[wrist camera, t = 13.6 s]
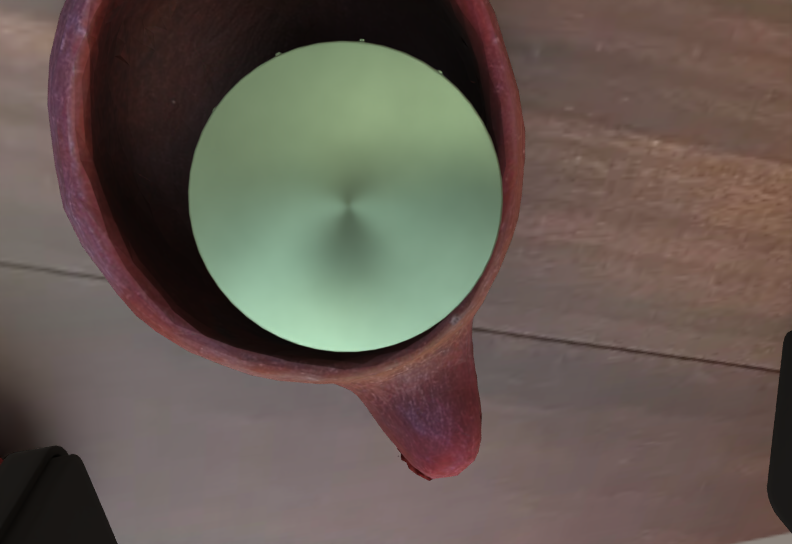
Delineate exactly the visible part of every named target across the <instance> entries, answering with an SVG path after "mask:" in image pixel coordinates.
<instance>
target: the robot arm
mask: <svg viewBox="0 0 792 544" xmlns="http://www.w3.org/2000/svg"><path fill="white" fill-rule="evenodd" d="M767 493H768V498H769V501H770V504H771V506H772V508H773V510H774V512H775V513H776V515H777V516H778V517H779V519H780V520H781V521H782V522H783V523H784V525H785V526H786V527H787V528H788V529H789V531H790V532H791V533H792V331H790V332H788V333H787V334H786V336H785V338H784V342H783V350H782V359H781V368H780V377H779V386H778V394H777V403H776V412H775V421H774V430H773V439H772V447H771V456H770V465H769V474H768V483H767ZM0 544H118V543H117V541H116V539H115V536H114V534H113V532H112V529H111V527H110V525H109V522H108V520H107V518H106V515H105V513H104V510H103V508H102V506H101V503H100V501H99V499H98V496H97V494H96V492H95V489H94V487H93V485H92V482H91V480H90V478H89V475H88V473H87V471H86V468H85V466H84V464H83V462H82V460H81V458H80V457H79V456H78V455H75V454H71V455H68V453H67V451H66V450H65V449H63V448H62V447H60V446H51V447H45V448H39V449H33V450H28V451H22V452H16V453H13V454H10V455H8V456H7V457H6V458H5V459H4V460H3V462H2V463H1V465H0Z"/></svg>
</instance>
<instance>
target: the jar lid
mask: <svg viewBox="0 0 792 544" xmlns="http://www.w3.org/2000/svg"><path fill="white" fill-rule="evenodd" d="M364 41H365V40H364V39H359V41H342V40H340V41H329V42H319V43H314V44H310V45H306V46H302V47H297V48H295V49H292V50H290V51H287V52H285V53H280V52H278V53H276V54H275V55H276V56H275V57H273V58H272V59H270V60H268V61H266V62H264V63H263V64H261V65H259V66H257V67H256V68H255V69H253V70H252V71H251V72H250V73H248V74H247V75H246V76H244V77H243V78H242V79H240V80H239V81H238V82H237V83H236V84H235V85H234V86H233V87H232V88H231V89H230V90H229V92H228V93H227V94H226V95H225V96H224V97H223V98H222V100H221V101H220V103H219V104H218V105H217V107H214V109H213V110H212V111H213V112H212V114H211V116H210V117H209V119H208V121H207V123H206V125H205V126H204V128H203V130H202V132H201V135H200V138H199V140H198V143H197V146H196V148H195V151H194V155H193V160H192V164H191V168H190V175H189V187H188V202H189V216H190V221H191V227H192V232H193V236H194V239H195V242H196V245H197V248H198V251H199V254H200V256H201V258H202V260H203V262H204V264H205V266H206V268H207V271H208V272H209V274H210V275H211V277H212V278H213V280H214V281H215V283H216V285H217V286H218V288H219V289H220V290H221V291H222V292H223V294H224V295H225V296H226V297H227V298H228V300H229V301H230V302H231V303H232V304H233V305H234V306H235V307H236V308H237V309H238V310H239V311H241V312H242V313H243V314H244V315H245V316H246V317H247V318H249V319H250V320H252V321H253V322H254V323H256V324H257V325H259V326H260V327H261V328H263V329H265V330H267V331H268V332H270V333H272V334H274V335H276V336H278V337H280V338H282V339H285V340H287V341H290V342H292V343H295V344H298V345H301V346H305V347H309V348H313V349H317V350H325V351H333V352H360V351H369V350H376V349H380V348H384V347H388V346H392V345H395V344H398V343H401V342H403V341H406V340H409V339H411V338H413V337H415V336H417V335H419V334H421V333H423V332H425V331H426V330H428V329H430V328H431V327H433V326H434V325H436V324H437V323H438V322H440V321H441V320H443V319H444V318H445V317H446V316H448V315H449V314H450V313H451V312H452V311H453V310H454V309H455V308H457V307H458V306H459V305H460V303H461V302H462V301H463V300H464V299H465V298H466V297H467V295H468V294H469V293H470V292H471V291H472V289H473V288H474V286H475V285H476V283H477V282H478V280H479V279H480V277H481V276H482V274H483V272H484V270H485V268H486V266H487V264H488V262H489V260H490V258H491V256H492V253H493V250H494V247H495V244H496V241H497V238H498V233H499V229H500V224H501V218H502V206H503V190H502V177H501V172H500V166H499V161H498V157H497V154H496V151H495V148H494V145H493V142H492V139H491V137H490V135H489V133H488V131H487V129H486V126H485V124H484V122H483V120H482V119H481V117H480V116H479V114H478V113H477V111H476V110H475V108H474V107H473V105H472V104H471V102H470V101H469V100H468V99H467V98H466V97H465V96H464V94H463V93H462V92H461V91H460V90H459V89H458V88H457V87H456V86H455V85H454V84H453V83H452V82H451V81H450V80H448V79H447V78H446V77H445V76H444V75H443V74H442V73H443V72H441V71H440V70H436V69H434V68H433V67H431V66H430V65H428V64H427V63H425V62H424V61H422V60H420V59H417V58H415V57H413V56H411V55H409V54H407V53H405V52H402V51H399V50H396V49H393V48H390V47H387V46H384V45H379V44H374V43H368V42H364Z"/></svg>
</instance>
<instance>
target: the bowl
mask: <svg viewBox="0 0 792 544" xmlns="http://www.w3.org/2000/svg"><path fill="white" fill-rule="evenodd" d="M359 39H364V40H365V41H364V42H368V43H374V44H379V45H384V46H387V47H390V48H393V49H396V50H399V51H402V52H405V53H407V54H409V55H411V56H413V57H415V58H417V59H420V60H422V61H424V62H425V63H427V64H428V65H430V66H431V67H433V68H434V69H436V70H440V71H441V72H443V73H442V74H443V75H444V76H445V77H446V78H447V79H448V80H450V81H451V82H452V83H453V84H454V85H455V86H456V87H457V88H458V89H459V90H460V91H461V92H462V93H463V94H464V96H465V97H466V98H467V99H468V100H469V101H470V102H471V104H472V105H473V107H474V108H475V110H476V111H477V113H478V114H479V116H480V117H481V119H482V120H483V122H484V124H485V126H486V129H487V131H488V133H489V135H490V137H491V139H492V142H493V145H494V148H495V151H496V154H497V157H498V161H499V166H500V172H501V177H502V190H503V206H502V218H501V224H500V229H499V233H498V238H497V241H496V244H495V247H494V250H493V253H492V256H491V258H490V260H489V262H488V264H487V266H486V268H485V270H484V272H483V274H482V276H481V277H480V279H479V280H478V282H477V283H476V285H475V286H474V288H473V289H472V291H471V292H470V293H469V294H468V295H467V297H466V298H465V299H464V300H463V301H462V302H461V303H460V305H459V306H458V307H457V308H455V309H454V310H453V311H452V312H451V313H450V314H449V315H448V316H446V317H445V318H444V319H443V320H441V321H440V322H438V323H437V324H436V325H434V326H433V327H431V328H430V329H428V330H426V331H425V332H423V333H421V334H419V335H417V336H415V337H413V338H411V339H409V340H406V341H403V342H401V343H398V344H395V345H392V346H388V347H384V348H380V349H376V350H369V351H360V352H333V351H325V350H317V349H313V348H309V347H305V346H301V345H298V344H295V343H292V342H290V341H287V340H285V339H282V338H280V337H278V336H276V335H274V334H272V333H270V332H268V331H267V330H265V329H263V328H261V327H260V326H259V325H257V324H256V323H254V322H253V321H252V320H250V319H249V318H247V317H246V316H245V315H244V314H243V313H242V312H241V311H239V310H238V309H237V308H236V307H235V306H234V305H233V304H232V303H231V302H230V301H229V300H228V298H227V297H226V296H225V295H224V294H223V292H222V291H221V290H220V289H219V288H218V286H217V285H216V283H215V281H214V280H213V278H212V277H211V275H210V274H209V272H208V271H207V268H206V266H205V264H204V262H203V260H202V258H201V256H200V254H199V251H198V248H197V245H196V242H195V239H194V236H193V232H192V227H191V221H190V216H189V202H188V187H189V175H190V168H191V164H192V160H193V155H194V151H195V148H196V146H197V143H198V140H199V138H200V135H201V132H202V130H203V128H204V126H205V125H206V123H207V121H208V119H209V117H210V116H211V114H212V112H213V111H212V110H213V109H214V107H217V105H218V104H219V103H220V101H221V100H222V98H223V97H224V96H225V95H226V94H227V93H228V92H229V90H230V89H231V88H232V87H233V86H234V85H235V84H236V83H237V82H238V81H239V80H240V79H242V78H243V77H244V76H246V75H247V74H248V73H250V72H251V71H252V70H253V69H255V68H256V67H257V66H259V65H261V64H263V63H264V62H266V61H268V60H270V59H272V58H273V57H275V56H276V55H275V54H276V53H278V52H280V53H285V52H287V51H290V50H292V49H295V48H297V47H302V46H306V45H310V44H314V43H319V42H329V41H340V40H342V41H359ZM48 112H49V121H50V129H51V137H52V145H53V153H54V161H55V168H56V173H57V178H58V183H59V188H60V193H61V198H62V203H63V208H64V210H65V212H66V214H67V216H68V218H69V220H70V222H71V224H72V226H73V228H74V231H75V233H76V235H77V237H78V239H79V241H80V243H81V245H82V247H83V248H84V249H85V251H86V252H87V253H88V255H89V256H90V257H91V259H92V260H93V261H94V263H95V264H96V265H97V267H98V268H99V269H100V271H101V272H102V273H103V275H104V276H105V278H106V279H107V280H108V282H109V283H110V285H111V286H112V287H113V289H114V290H115V292H116V293H117V294H118V295H119V296H120V298H121V299H122V300H123V301H124V302H125V303H126V304H127V306H128V307H129V308H130V309H131V310H132V311H133V313H134V314H135V315H136V316H137V317H139V318H140V319H141V320H143V321H144V322H145V323H146V324H148V325H149V326H150V327H151V328H153V329H154V330H155V331H156V332H158V333H160V334H161V335H163V336H164V337H166V338H168V339H169V340H171V341H173V342H174V343H176V344H177V345H179V346H181V347H182V348H184V349H185V350H187V351H189V352H191V353H193V354H196V355H199V356H201V357H204V358H206V359H209V360H211V361H214V362H216V363H219V364H221V365H224V366H227V367H230V368H232V369H235V370H238V371H241V372H244V373H246V374H249V375H252V376H258V377H263V378H268V379H273V380H279V381H291V382H303V383H315V384H328V383H334V384H337V385H339V386H342V387H344V388H346V389H349V390H351V391H352V392H353V393H355V394H356V395H357V396H358V397H359V398H360V399H361V401H362V402H363V403H364V404H365V406H366V407H367V409H368V410H369V411H370V413H371V414H372V416H373V417H374V419H375V420H376V421H377V423H378V424H379V426H380V427H381V429H382V430H383V431H384V432H385V434H386V435H387V436H388V437H389V438H390V440H391V441H392V442H393V443H394V444H395V445H396V447H397V449H398V450H399V451H400V452H401V460H403V461H405V462H407V465H408V467H409V469H410V470H412V471H413V472H414V473H416V474H417V475H419V476H421V477H423V478H425V479H427V480H429V481H430V480H432V479H435V478H443V477H451V476H457V475H458V474H460V473H461V472H462V471H463V470H464V469H465V468H466V467H468V466H469V465H470V464H471V463H472V462H473V461H474V460H475V458H476V456H477V454H478V451H479V447H480V442H481V419H482V414H481V404H480V397H479V392H478V386H477V375H476V371H475V364H474V357H473V343H472V323H473V318H474V315H475V314H476V312H477V311H478V309H479V308H480V306H481V305H482V303H483V301H484V299H485V297H486V295H487V293H488V291H489V289H490V287H491V285H492V283H493V281H494V279H495V277H496V276H497V274H498V272H499V269H500V267H501V264H502V262H503V259H504V257H505V254H506V252H507V250H508V247H509V245H510V242H511V240H512V237H513V233H514V230H515V227H516V224H517V221H518V217H519V210H520V203H521V196H522V185H523V170H524V163H525V127H524V121H523V116H522V110H521V104H520V97H519V91H518V87H517V84H516V80H515V77H514V74H513V70H512V67H511V63H510V60H509V57H508V54H507V51H506V47H505V44H504V41H503V38H502V34H501V31H500V28H499V25H498V21H497V18H496V15H495V12H494V10H493V8H492V6H491V4H490V2H489V0H66V1H65V3H64V6H63V8H62V11H61V13H60V17H59V21H58V25H57V29H56V34H55V38H54V42H53V46H52V51H51V55H50V63H49V79H48ZM398 457H399V456H398Z"/></svg>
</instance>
